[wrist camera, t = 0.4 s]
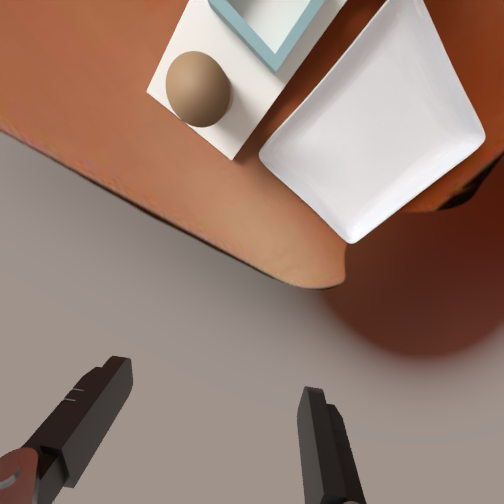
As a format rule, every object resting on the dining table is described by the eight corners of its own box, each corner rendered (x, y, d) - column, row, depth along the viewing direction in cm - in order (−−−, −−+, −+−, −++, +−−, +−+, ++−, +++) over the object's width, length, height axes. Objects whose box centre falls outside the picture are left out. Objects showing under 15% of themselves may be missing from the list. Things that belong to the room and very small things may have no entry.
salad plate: (344, 238, 41) (352, 248, 38) (253, 151, 32) (254, 156, 30) (470, 136, 32) (492, 140, 30) (390, -15, 24) (410, -30, 21)
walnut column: (183, 98, 27) (154, 97, 18) (206, 56, 25) (186, 32, 16) (218, 127, 29) (207, 140, 20) (241, 90, 27) (242, 86, 18)
